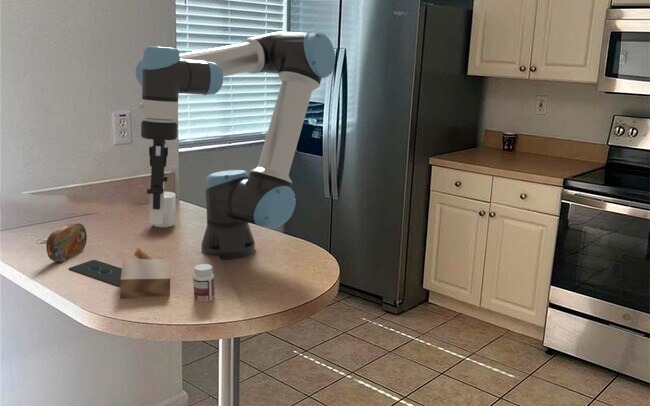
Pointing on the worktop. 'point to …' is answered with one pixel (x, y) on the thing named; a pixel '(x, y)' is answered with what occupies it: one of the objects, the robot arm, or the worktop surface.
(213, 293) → the pill bottle
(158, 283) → the wooden block
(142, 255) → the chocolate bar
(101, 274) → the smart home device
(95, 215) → the worktop surface
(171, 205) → the white cup
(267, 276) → the worktop surface
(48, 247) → the tin
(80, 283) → the worktop surface
